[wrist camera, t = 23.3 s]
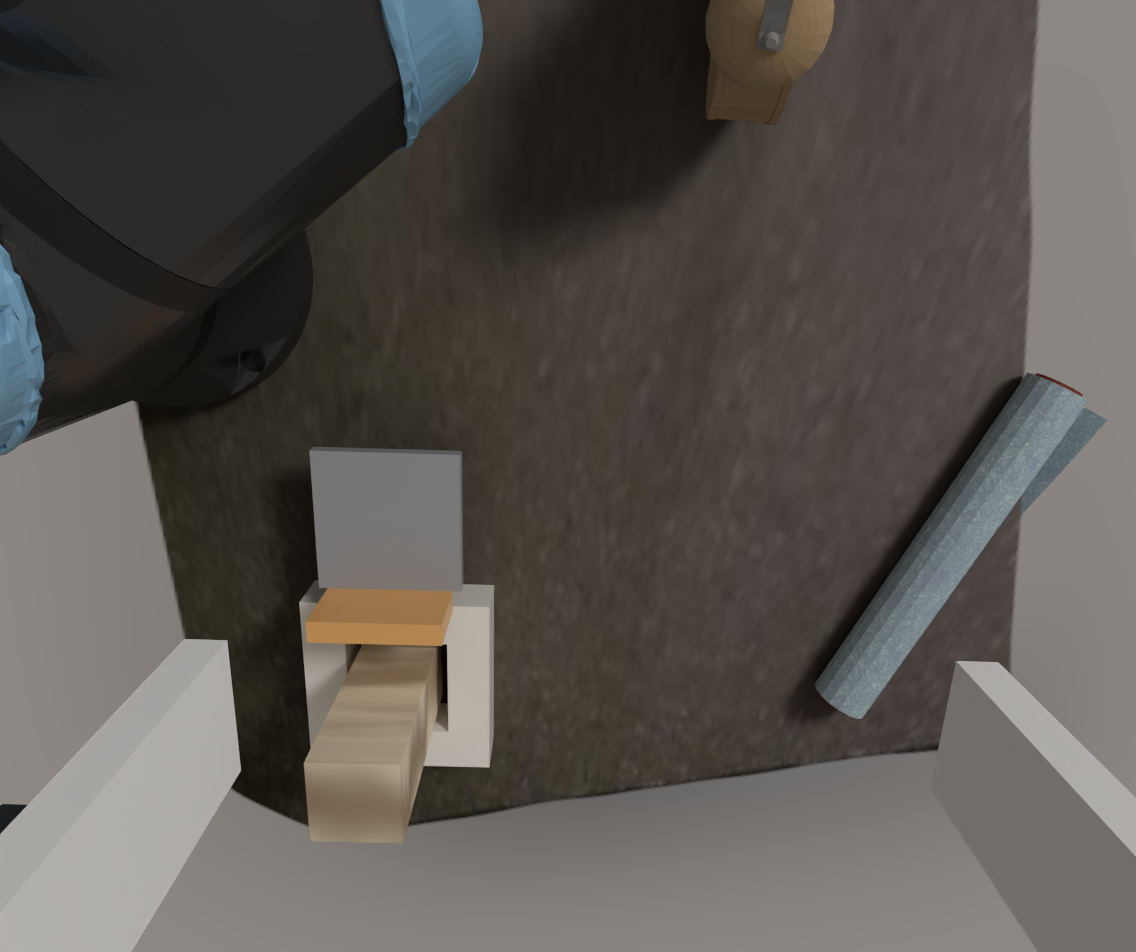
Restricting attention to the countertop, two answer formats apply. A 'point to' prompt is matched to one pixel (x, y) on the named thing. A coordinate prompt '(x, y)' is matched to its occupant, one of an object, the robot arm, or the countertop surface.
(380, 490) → the shutter
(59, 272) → the robot arm
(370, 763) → the peg
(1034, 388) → the aluminum foil
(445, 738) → the socket
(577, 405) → the countertop surface
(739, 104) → the alarm clock
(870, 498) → the countertop surface
